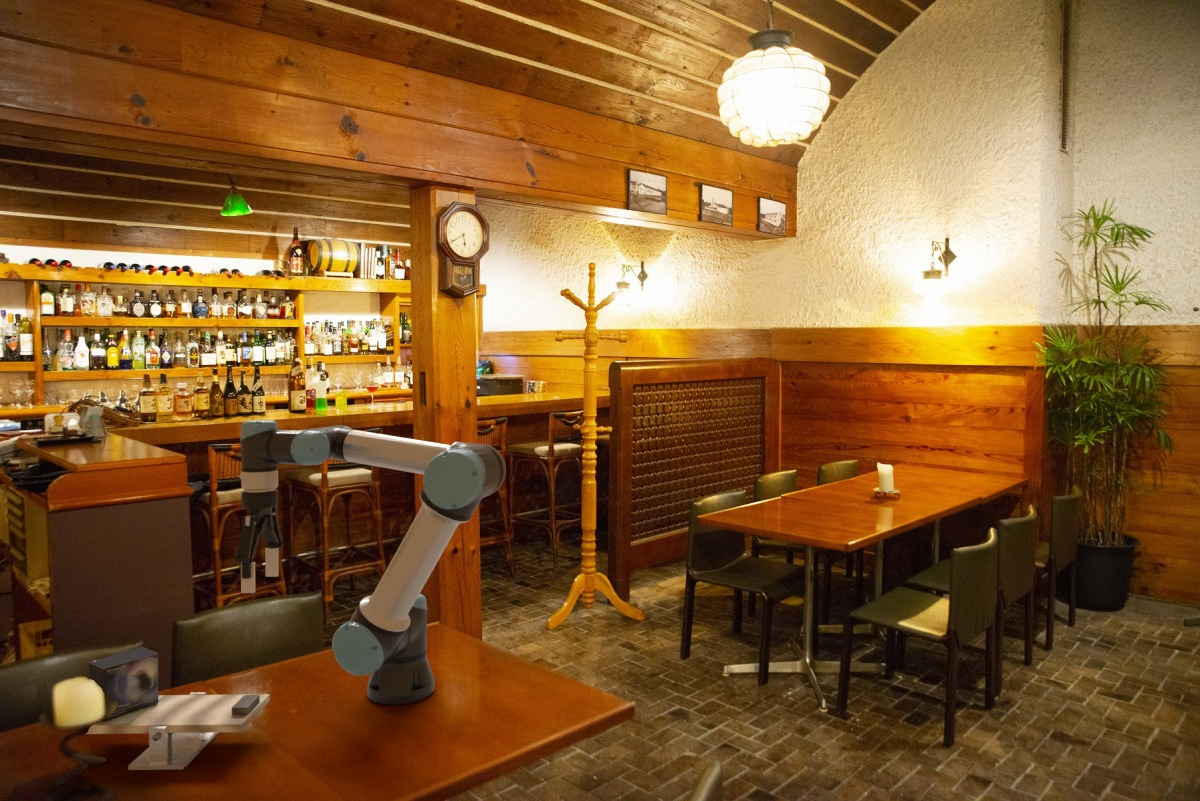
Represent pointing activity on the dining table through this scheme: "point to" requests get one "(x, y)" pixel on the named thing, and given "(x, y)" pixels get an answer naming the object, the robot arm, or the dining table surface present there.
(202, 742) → the pivot stand
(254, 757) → the dining table surface
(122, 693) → the small box
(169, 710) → the balance beam
